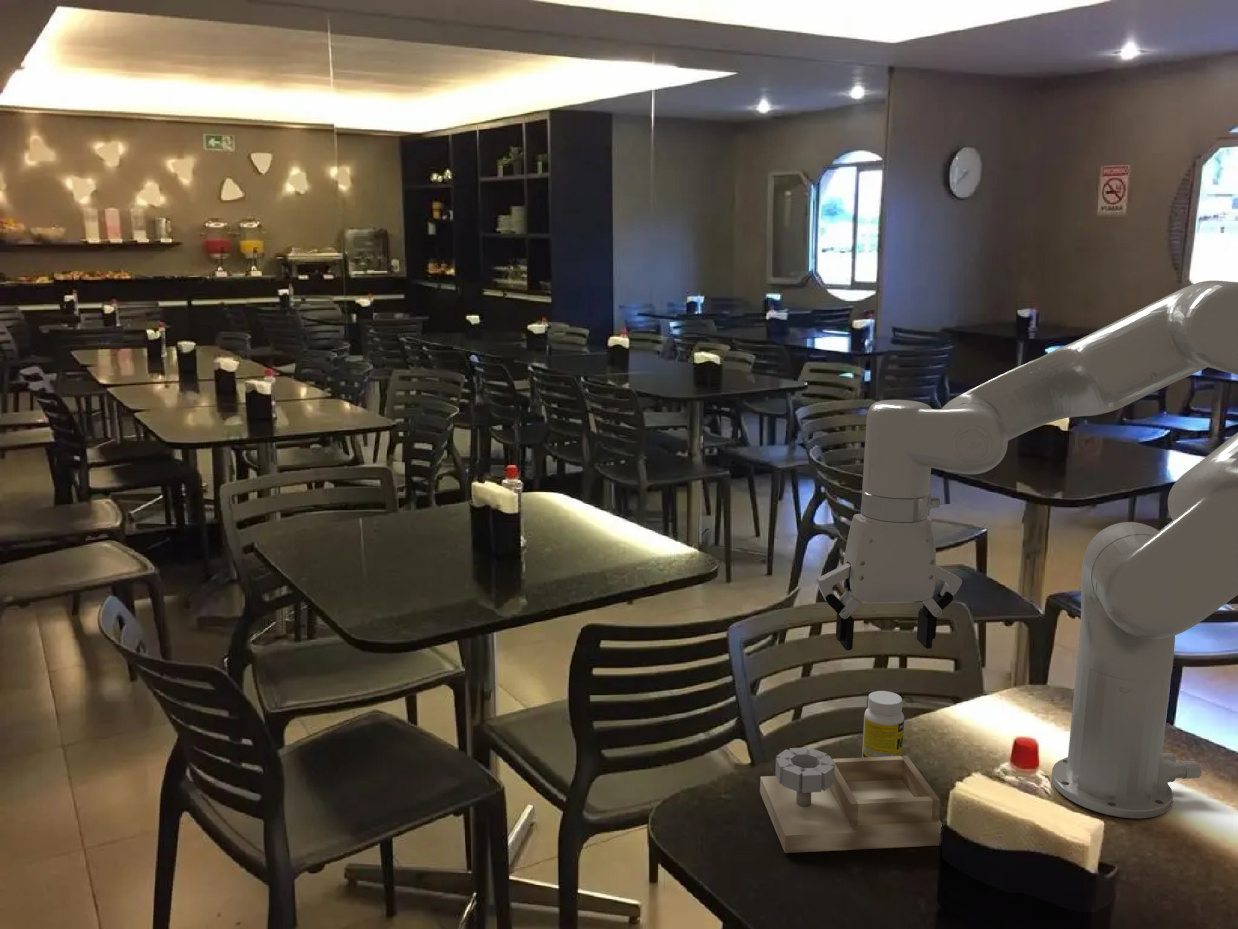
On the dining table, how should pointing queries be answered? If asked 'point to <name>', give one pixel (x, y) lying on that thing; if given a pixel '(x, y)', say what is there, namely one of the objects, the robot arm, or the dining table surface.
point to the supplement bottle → (883, 725)
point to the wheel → (805, 770)
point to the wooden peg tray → (857, 808)
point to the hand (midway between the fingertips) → (884, 645)
